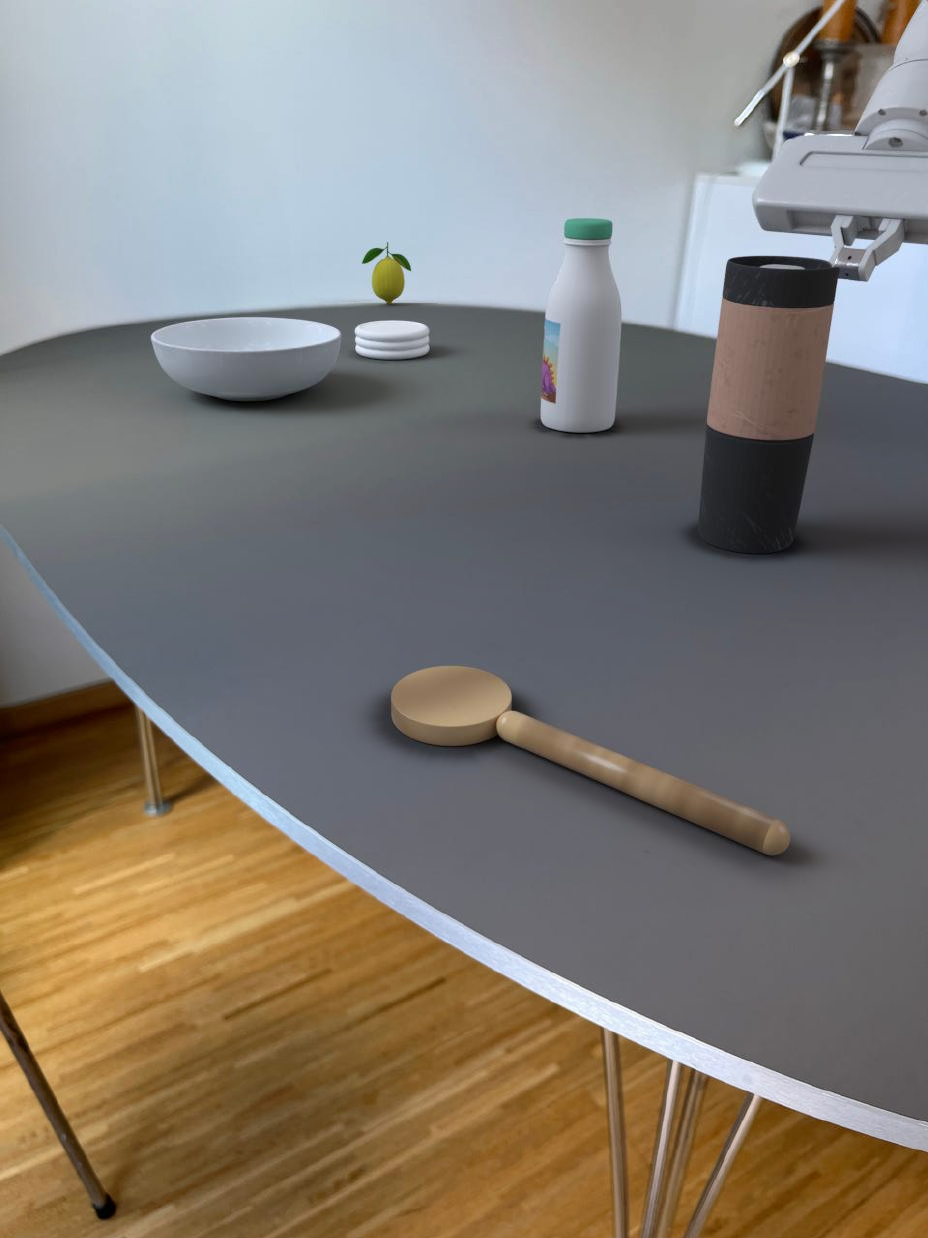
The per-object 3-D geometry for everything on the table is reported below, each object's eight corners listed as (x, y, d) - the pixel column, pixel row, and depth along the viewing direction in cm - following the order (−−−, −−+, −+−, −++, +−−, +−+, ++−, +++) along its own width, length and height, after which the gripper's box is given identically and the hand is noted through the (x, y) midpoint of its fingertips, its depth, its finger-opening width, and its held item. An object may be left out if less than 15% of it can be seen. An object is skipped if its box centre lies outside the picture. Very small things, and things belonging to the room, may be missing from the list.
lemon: (362, 305, 174) (360, 242, 169) (376, 300, 179) (374, 239, 174) (399, 308, 172) (398, 244, 168) (412, 302, 177) (411, 241, 173)
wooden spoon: (815, 823, 47) (820, 794, 46) (753, 897, 42) (759, 866, 42) (444, 672, 59) (444, 648, 58) (366, 717, 55) (365, 691, 54)
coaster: (401, 363, 133) (401, 336, 132) (340, 354, 138) (339, 327, 136) (443, 350, 141) (443, 324, 139) (384, 342, 145) (383, 317, 144)
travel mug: (673, 533, 79) (702, 260, 71) (734, 512, 84) (768, 252, 75) (756, 563, 74) (798, 272, 65) (817, 539, 79) (864, 263, 70)
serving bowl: (333, 416, 109) (330, 350, 106) (136, 415, 109) (127, 349, 106) (351, 372, 128) (349, 315, 125) (183, 371, 128) (176, 314, 125)
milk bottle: (623, 419, 109) (639, 218, 100) (601, 438, 103) (615, 224, 94) (555, 411, 112) (564, 214, 103) (528, 428, 106) (536, 220, 97)
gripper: (783, 101, 85) (714, 234, 83) (1054, 103, 74) (983, 259, 71) (796, 159, 90) (731, 286, 88) (1052, 169, 79) (986, 317, 76)
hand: (846, 274), depth 79 cm, fingers closed
